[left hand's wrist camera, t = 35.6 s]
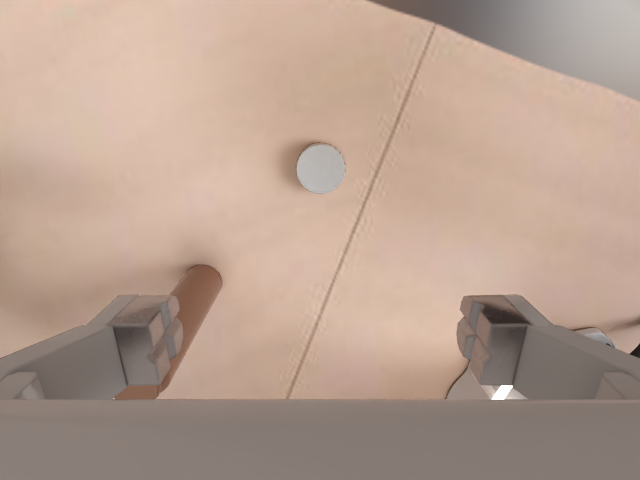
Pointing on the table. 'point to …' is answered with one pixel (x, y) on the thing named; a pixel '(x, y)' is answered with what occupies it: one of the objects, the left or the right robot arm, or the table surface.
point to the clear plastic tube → (184, 321)
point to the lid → (320, 168)
